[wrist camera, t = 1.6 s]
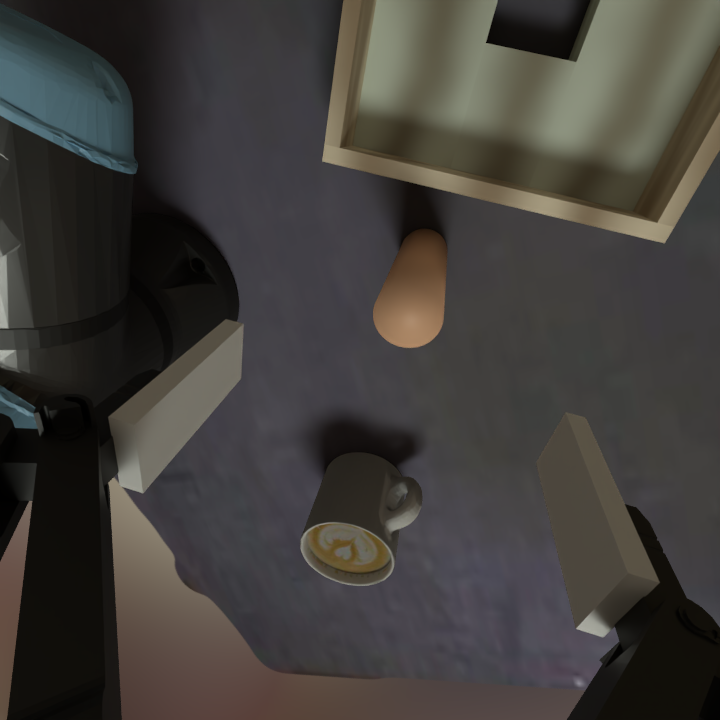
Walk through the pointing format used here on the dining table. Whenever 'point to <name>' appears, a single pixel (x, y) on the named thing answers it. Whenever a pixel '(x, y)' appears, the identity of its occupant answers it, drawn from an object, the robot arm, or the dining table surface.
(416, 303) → the peg
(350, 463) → the coffee mug
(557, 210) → the box
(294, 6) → the dining table surface
